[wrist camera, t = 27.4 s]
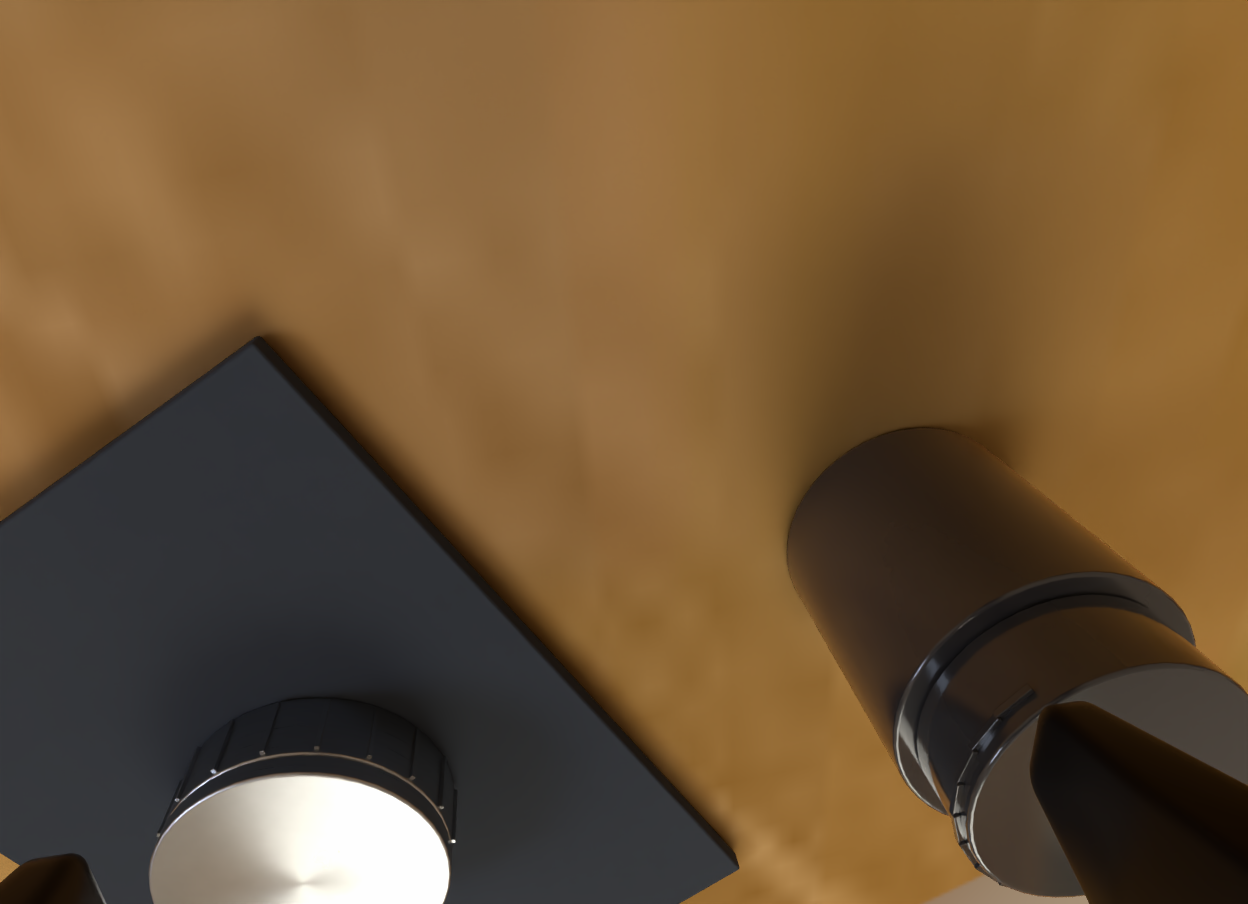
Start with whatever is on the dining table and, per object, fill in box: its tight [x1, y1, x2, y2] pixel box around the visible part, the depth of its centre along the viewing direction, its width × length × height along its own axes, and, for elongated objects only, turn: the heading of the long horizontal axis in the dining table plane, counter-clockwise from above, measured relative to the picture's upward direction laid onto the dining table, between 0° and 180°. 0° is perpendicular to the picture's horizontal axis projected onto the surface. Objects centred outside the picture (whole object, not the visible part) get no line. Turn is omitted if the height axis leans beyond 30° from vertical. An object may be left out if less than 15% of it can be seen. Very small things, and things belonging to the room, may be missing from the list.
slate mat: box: [0, 336, 739, 904], centre depth 23 cm, size 20×14×1 cm
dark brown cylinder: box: [787, 428, 1248, 897], centre depth 18 cm, size 6×6×8 cm
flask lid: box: [149, 698, 458, 904], centre depth 21 cm, size 7×7×2 cm
